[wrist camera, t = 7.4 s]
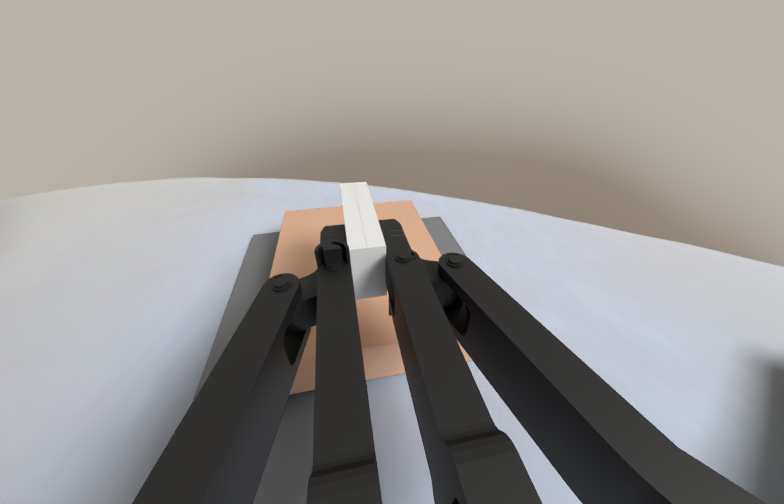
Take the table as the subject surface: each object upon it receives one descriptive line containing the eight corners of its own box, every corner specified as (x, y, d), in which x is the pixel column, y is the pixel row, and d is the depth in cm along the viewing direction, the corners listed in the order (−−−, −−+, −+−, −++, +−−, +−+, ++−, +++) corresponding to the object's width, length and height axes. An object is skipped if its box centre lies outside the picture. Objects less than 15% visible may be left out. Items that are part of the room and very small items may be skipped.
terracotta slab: (248, 367, 14) (284, 211, 26) (267, 401, 16) (292, 241, 28) (482, 328, 15) (410, 200, 28) (472, 363, 17) (409, 228, 30)
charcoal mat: (196, 402, 16) (193, 398, 16) (254, 238, 29) (253, 234, 29) (521, 344, 19) (523, 340, 19) (439, 219, 32) (439, 216, 32)
